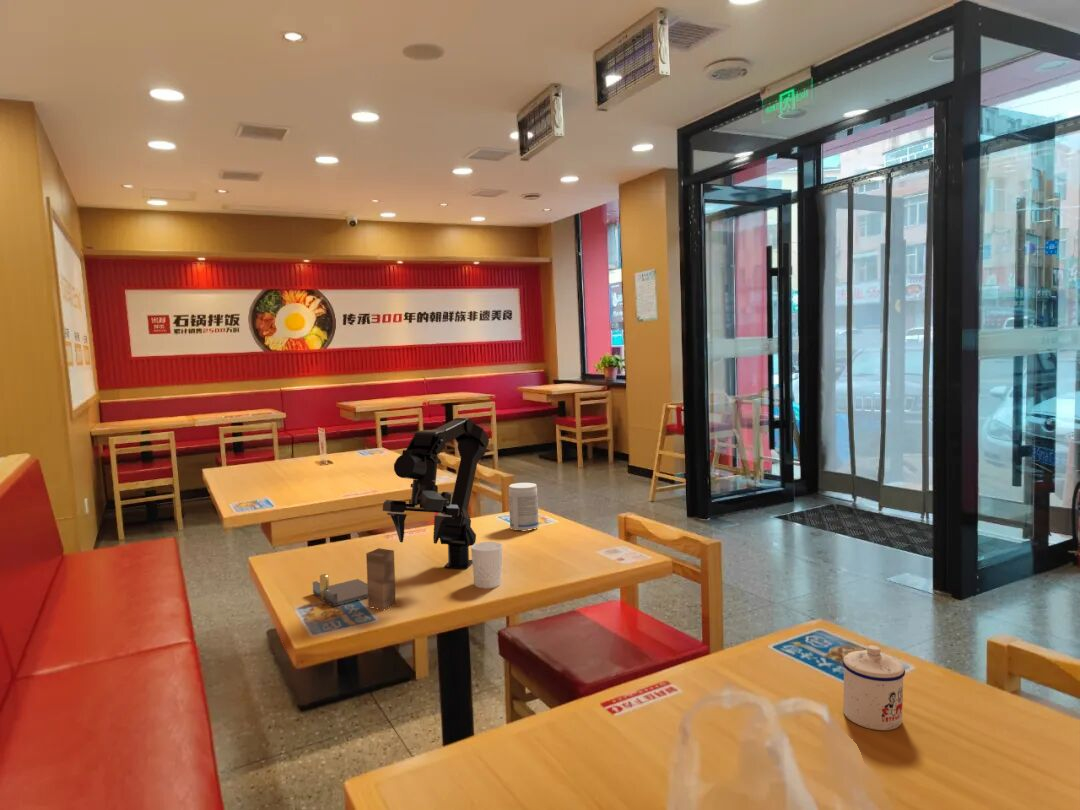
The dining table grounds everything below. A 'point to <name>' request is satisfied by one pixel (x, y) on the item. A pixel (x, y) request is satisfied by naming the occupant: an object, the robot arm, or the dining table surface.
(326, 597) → the keeper plate
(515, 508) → the supplement tub
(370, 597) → the walnut post
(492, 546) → the white cup
